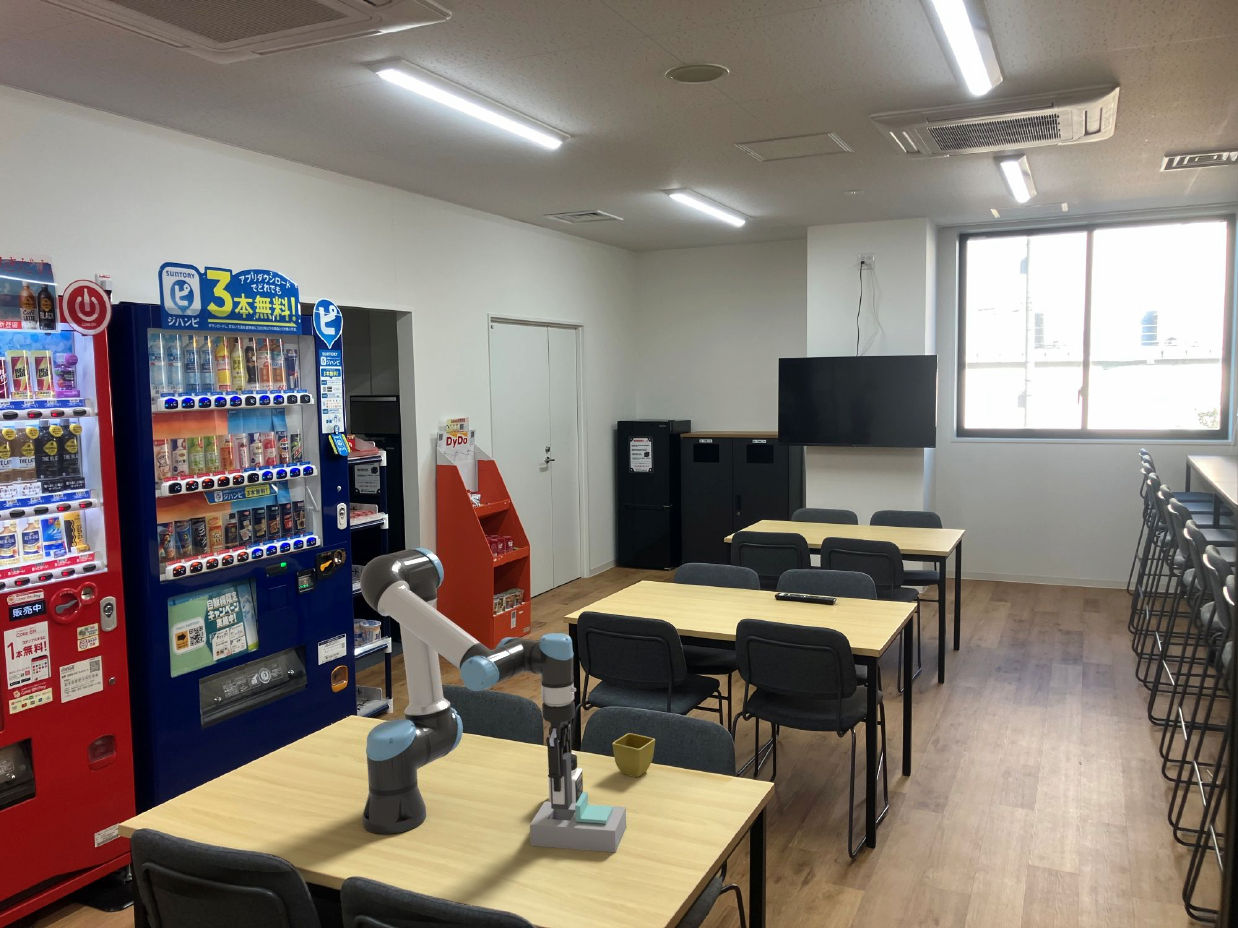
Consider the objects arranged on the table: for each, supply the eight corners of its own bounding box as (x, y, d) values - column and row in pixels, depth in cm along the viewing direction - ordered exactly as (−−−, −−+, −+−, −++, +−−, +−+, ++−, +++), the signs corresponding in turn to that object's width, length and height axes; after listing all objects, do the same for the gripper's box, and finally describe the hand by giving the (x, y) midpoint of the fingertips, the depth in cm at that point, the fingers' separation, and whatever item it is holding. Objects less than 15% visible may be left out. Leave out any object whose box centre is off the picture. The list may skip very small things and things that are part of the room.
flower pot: (656, 770, 251) (656, 738, 250) (640, 782, 243) (639, 749, 243) (629, 763, 255) (628, 732, 255) (612, 775, 248) (611, 743, 247)
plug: (551, 808, 213) (549, 758, 212) (556, 800, 217) (554, 751, 216) (568, 809, 212) (566, 759, 212) (572, 801, 216) (570, 752, 215)
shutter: (575, 821, 211) (575, 805, 210) (583, 807, 218) (582, 791, 217) (606, 823, 209) (605, 807, 209) (612, 809, 216) (612, 793, 216)
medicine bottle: (576, 807, 230) (575, 760, 229) (549, 805, 231) (547, 759, 230) (583, 794, 237) (582, 749, 236) (556, 793, 238) (555, 748, 237)
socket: (530, 845, 211) (529, 824, 210) (545, 821, 222) (544, 801, 222) (615, 852, 207) (615, 830, 206) (626, 827, 218) (625, 806, 218)
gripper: (564, 714, 204) (567, 816, 206) (583, 689, 220) (586, 784, 222) (531, 713, 205) (535, 814, 207) (552, 688, 222) (556, 782, 224)
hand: (561, 798), depth 215 cm, fingers closed on plug, 4 cm apart
